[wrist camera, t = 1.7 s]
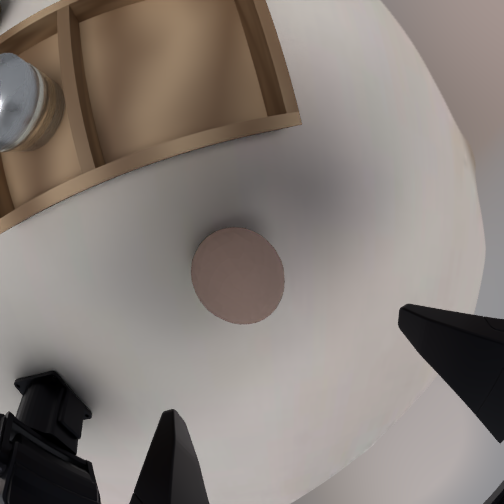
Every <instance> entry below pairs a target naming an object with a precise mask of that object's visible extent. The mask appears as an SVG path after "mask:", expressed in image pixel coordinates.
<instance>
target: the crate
mask: <svg viewBox="0 0 504 504" xmlns="http://www.w3.org/2000/svg"><path fill="white" fill-rule="evenodd" d="M2 53H13V54H15V55H17V56H18V57H20V58H21V59H23V60H24V61H25V62H28V63H30V64H31V65H33V66H34V67H36V68H37V69H39V70H40V71H41V72H43V73H44V74H46V75H47V76H48V77H49V78H50V79H51V80H53V81H54V82H55V83H57V84H58V85H59V86H60V88H61V89H62V92H63V94H64V99H65V109H64V114H63V118H62V121H61V123H60V126H59V127H58V129H57V131H56V132H55V134H54V135H53V137H52V138H51V139H50V140H49V141H48V142H47V143H46V144H45V145H43V146H42V147H40V148H38V149H36V150H33V151H19V152H0V234H1V233H3V232H5V231H6V230H8V229H10V228H12V227H14V226H15V225H17V224H19V223H21V222H22V221H24V220H26V219H28V218H30V217H31V216H33V215H35V214H37V213H39V212H41V211H43V210H45V209H47V208H49V207H51V206H53V205H55V204H57V203H59V202H61V201H63V200H65V199H67V198H69V197H71V196H73V195H75V194H78V193H80V192H82V191H84V190H86V189H89V188H91V187H93V186H96V185H98V184H100V183H103V182H105V181H108V180H110V179H113V178H115V177H118V176H120V175H123V174H125V173H128V172H131V171H133V170H136V169H139V168H141V167H144V166H147V165H150V164H153V163H156V162H158V161H161V160H164V159H167V158H171V157H174V156H177V155H180V154H183V153H186V152H190V151H193V150H197V149H200V148H203V147H207V146H211V145H214V144H218V143H222V142H226V141H230V140H234V139H238V138H242V137H246V136H251V135H255V134H259V133H264V132H269V131H274V130H279V129H283V128H288V127H292V126H297V125H302V122H301V118H300V114H299V110H298V106H297V102H296V98H295V94H294V90H293V87H292V83H291V79H290V76H289V72H288V69H287V65H286V62H285V58H284V55H283V52H282V48H281V45H280V42H279V39H278V36H277V32H276V29H275V26H274V23H273V20H272V18H271V15H270V12H269V9H268V6H267V3H266V1H265V0H61V1H59V2H56V3H54V4H52V5H50V6H49V7H47V8H45V9H43V10H41V11H39V12H37V13H36V14H34V15H32V16H30V17H29V18H27V19H25V20H24V21H22V22H20V23H19V24H17V25H16V26H14V27H12V28H11V29H9V30H8V31H6V32H5V33H4V34H2V35H1V36H0V54H2Z"/></svg>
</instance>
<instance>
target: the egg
mask: <svg viewBox="0 0 504 504" xmlns="http://www.w3.org/2000/svg"><path fill="white" fill-rule="evenodd" d="M191 277H192V283H193V286H194V289H195V292H196V294H197V296H198V298H199V300H200V301H201V302H202V304H203V305H204V306H205V307H206V308H207V310H209V311H210V312H211V313H213V314H214V315H215V316H217V317H219V318H221V319H223V320H225V321H228V322H231V323H235V324H252V323H256V322H259V321H261V320H264V319H265V318H266V317H268V316H269V315H271V313H272V312H273V311H274V310H275V309H276V308H277V306H278V304H279V302H280V300H281V298H282V295H283V291H284V283H285V280H284V268H283V265H282V262H281V259H280V257H279V256H278V254H277V252H276V250H275V249H274V247H273V246H272V245H271V244H270V243H269V242H268V241H267V240H266V239H265V238H263V237H262V236H261V235H260V234H258V233H256V232H253V231H251V230H248V229H246V228H237V227H231V228H224V229H221V230H218V231H216V232H214V233H212V234H211V235H209V236H208V237H207V238H206V239H205V240H204V241H203V242H202V243H201V244H200V245H199V247H198V249H197V251H196V253H195V255H194V257H193V260H192V267H191Z"/></svg>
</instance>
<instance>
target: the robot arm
mask: <svg viewBox="0 0 504 504" xmlns="http://www.w3.org/2000/svg"><path fill="white" fill-rule="evenodd" d="M398 326H399V328H400V330H401V331H402V332H403V334H404V335H405V336H406V337H407V339H408V340H409V341H410V343H411V344H412V345H413V346H414V348H415V349H416V350H417V352H418V353H419V354H420V355H421V356H422V357H423V358H424V359H425V360H426V361H427V362H428V364H429V365H430V366H431V367H432V368H433V369H434V370H435V371H436V372H437V373H438V374H439V375H440V376H441V377H442V378H443V379H444V380H445V382H446V383H447V384H448V385H449V386H450V387H451V388H452V389H453V390H454V391H455V392H456V394H457V395H458V396H459V397H460V398H461V399H462V400H463V401H464V402H465V404H466V405H467V406H468V407H469V408H470V409H471V410H472V411H473V413H474V414H476V416H477V417H478V418H479V420H480V421H481V422H482V423H483V424H484V425H485V427H486V428H487V429H488V430H489V431H490V433H491V434H492V435H493V436H494V437H495V439H496V440H497V441H498V442H499V443H501V442H502V441H503V440H504V319H497V318H490V317H483V316H477V315H471V314H465V313H459V312H453V311H448V310H442V309H436V308H430V307H425V306H419V305H413V304H406V305H404V306H403V307H401V308H400V310H399V318H398ZM53 376H54V377H53ZM14 385H15V387H16V388H17V389H18V390H19V391H20V393H21V394H22V395H23V397H22V399H21V402H20V405H19V408H18V411H17V414H16V417H15V416H14V415H13V414H12V413H11V412H9V411H8V412H7V414H6V415H4V414H0V504H101V501H100V494H99V490H98V487H97V483H96V479H95V475H94V471H93V466H92V463H91V462H89V461H87V460H84V459H82V458H80V457H78V456H76V455H77V445H78V439H80V438H81V431H82V423H83V420H85V419H90V418H91V417H92V413H91V412H90V411H89V410H88V409H87V407H86V406H85V405H84V404H83V403H82V402H81V401H80V400H79V399H78V398H77V396H76V395H75V394H74V393H73V392H72V391H71V389H70V388H69V387H68V386H67V385H66V383H65V382H64V381H63V380H62V378H61V377H60V376H59V375H58V374H57V373H56V372H54V371H51V372H47V373H43V374H39V375H35V376H31V377H26V378H22V379H18V380H15V383H14ZM129 504H209V501H208V497H207V493H206V489H205V485H204V481H203V477H202V473H201V469H200V465H199V461H198V458H197V455H196V452H195V450H194V447H193V444H192V441H191V438H190V435H189V432H188V429H187V426H186V423H185V422H184V420H183V419H182V418H181V416H180V415H179V414H178V413H177V411H176V410H174V409H171V410H167V411H164V412H163V413H162V415H161V418H160V421H159V423H158V426H157V429H156V431H155V434H154V437H153V439H152V442H151V445H150V448H149V450H148V453H147V456H146V459H145V461H144V464H143V467H142V470H141V472H140V475H139V478H138V481H137V484H136V487H135V489H134V493H133V495H132V498H131V501H130V503H129ZM483 504H504V481H503V482H502V483H501V485H500V486H499V487H498V488H497V489H496V490H495V491H494V492H493V494H492V495H491V496H490V497H489V498H488V499H487V500H486V501H485V502H484V503H483Z"/></svg>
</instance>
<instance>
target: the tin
mask: <svg viewBox="0 0 504 504" xmlns="http://www.w3.org/2000/svg"><path fill="white" fill-rule="evenodd" d="M64 109H65V99H64V94H63V92H62V89H61V88H60V86H59V85H58V84H57V83H55V82H54V81H53V80H51V79H50V78H49V77H48V76H47V75H46V74H44V73H43V72H41V71H40V70H39V69H37V68H36V67H34V66H33V65H31V64H30V63H28V62H25V61H24V60H23V59H21V58H20V57H18V56H17V55H15V54H13V53H2V54H0V152H19V151H33V150H36V149H38V148H40V147H42V146H43V145H45V144H46V143H47V142H48V141H49V140H50V139H51V138H52V137H53V135H54V134H55V132H56V131H57V129H58V127H59V126H60V123H61V121H62V118H63V114H64Z"/></svg>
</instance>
